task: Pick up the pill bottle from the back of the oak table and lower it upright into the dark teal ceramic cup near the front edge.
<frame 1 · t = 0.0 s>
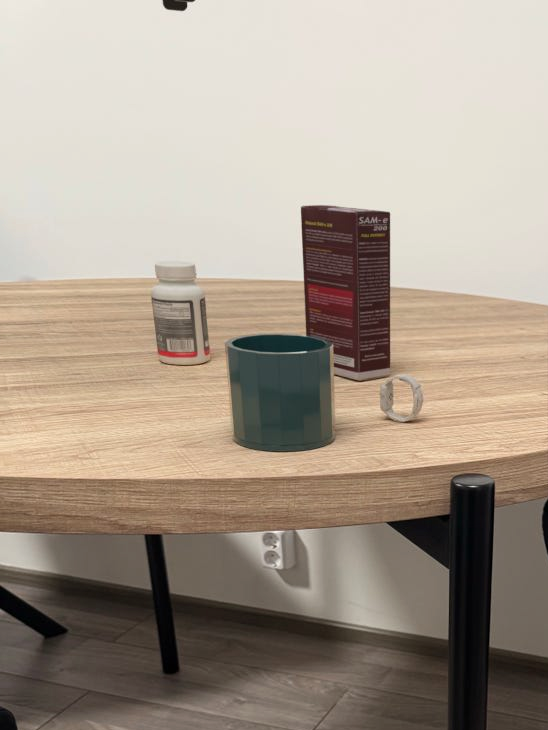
hand: (179, 5, 86), 32 cm above the table, tool pointing down, fingers open, 8 cm apart
supplement box: (348, 373, 100), on the table
cup: (284, 437, 77), on the table
pill bottle: (184, 362, 101), on the table
grey marbled ring: (400, 422, 84), on the table
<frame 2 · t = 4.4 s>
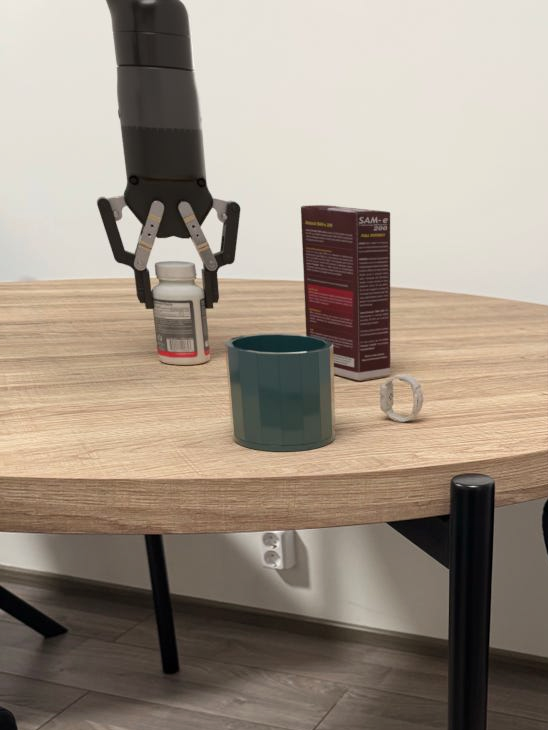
hand: (179, 307, 98), 5 cm above the table, tool pointing down, fingers closed on pill bottle, 5 cm apart
pill bottle: (184, 362, 101), on the table, touching gripper
everything else where it was.
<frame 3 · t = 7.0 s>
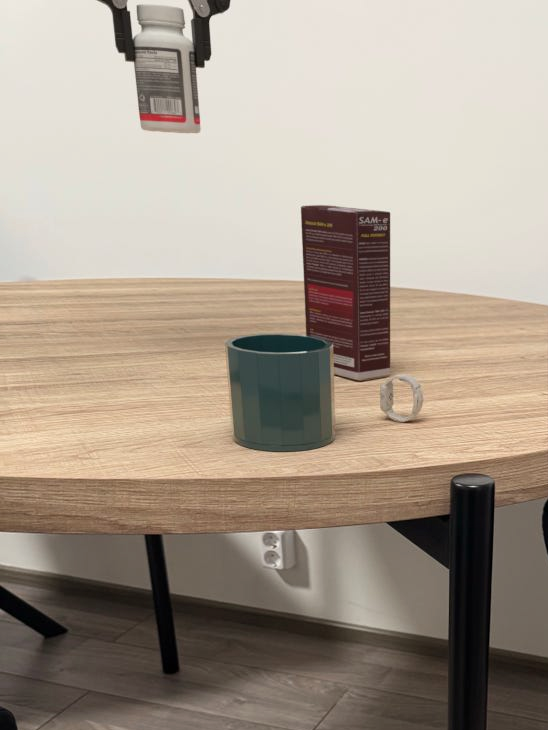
hand: (165, 63, 85), 27 cm above the table, tool pointing down, fingers closed on pill bottle, 5 cm apart
pill bottle: (171, 134, 88), point 21 cm above the table, touching gripper
everything else where it was.
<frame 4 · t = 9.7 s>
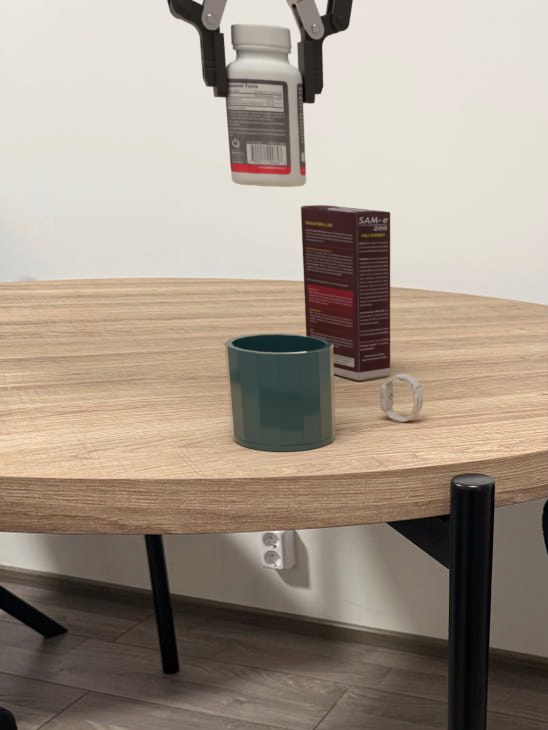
hand: (265, 98, 66), 24 cm above the table, tool pointing down, fingers closed on pill bottle, 5 cm apart
pill bottle: (269, 188, 69), point 18 cm above the table, touching gripper
everything else where it was.
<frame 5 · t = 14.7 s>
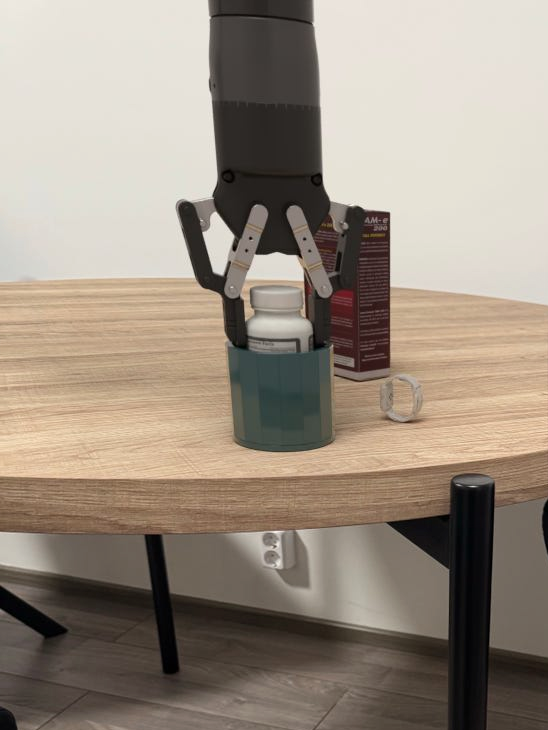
hand: (279, 345, 74), 7 cm above the table, tool pointing down, fingers closed on pill bottle, 5 cm apart
pill bottle: (283, 417, 77), point 2 cm above the table, touching gripper
everything else where it was.
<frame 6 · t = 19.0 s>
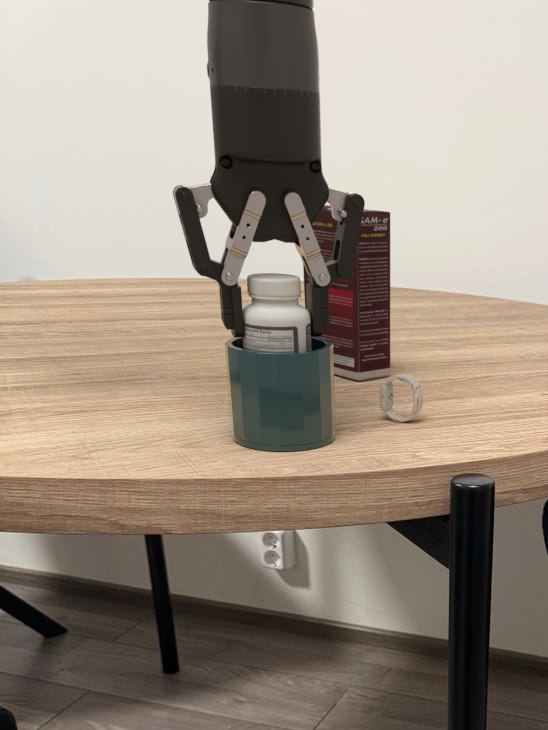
hand: (276, 334, 73), 8 cm above the table, tool pointing down, fingers closed on pill bottle, 5 cm apart
pill bottle: (280, 407, 76), point 2 cm above the table, touching gripper
everything else where it was.
when the fingers open (9 cm above the table, at t = 23.0 s): pill bottle drops 3 cm, resting on cup.
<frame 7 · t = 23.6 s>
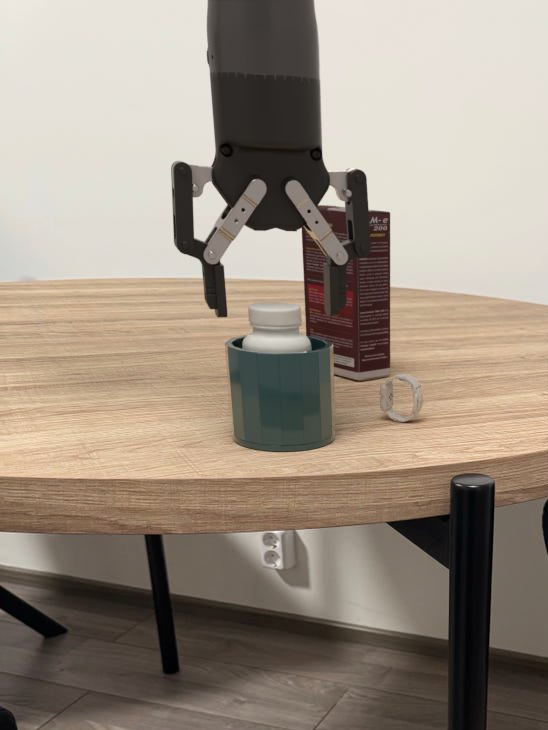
hand: (278, 315, 73), 10 cm above the table, tool pointing down, fingers open, 8 cm apart
pill bottle: (281, 433, 77), resting on cup
everything else where it was.
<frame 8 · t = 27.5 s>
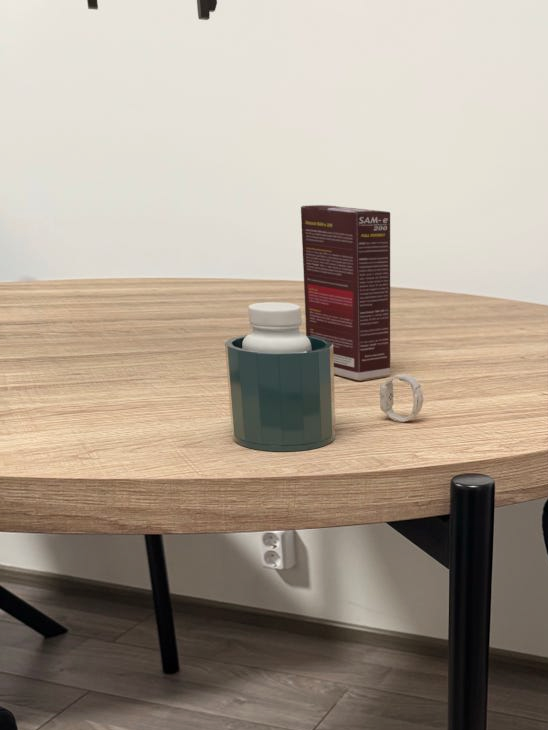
hand: (149, 13, 76), 30 cm above the table, tool pointing down, fingers open, 8 cm apart
nothing on the table moved.
at the end: pill bottle 0.2 cm off-centre in the cup, point 0.3 cm above the cup's base; pill bottle tilted 0°; the gripper is holding nothing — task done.
